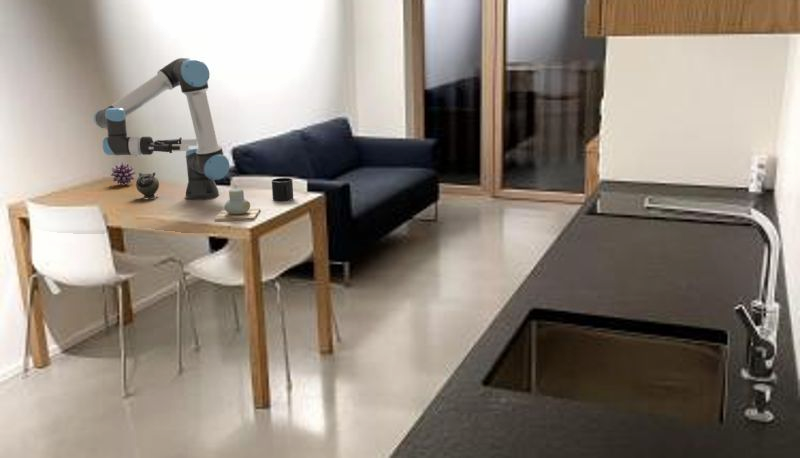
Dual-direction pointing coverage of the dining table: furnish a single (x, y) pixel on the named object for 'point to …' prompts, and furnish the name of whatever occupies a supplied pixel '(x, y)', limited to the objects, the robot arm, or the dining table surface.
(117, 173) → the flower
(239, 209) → the air freshener
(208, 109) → the robot arm
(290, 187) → the mug
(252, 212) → the coaster board
